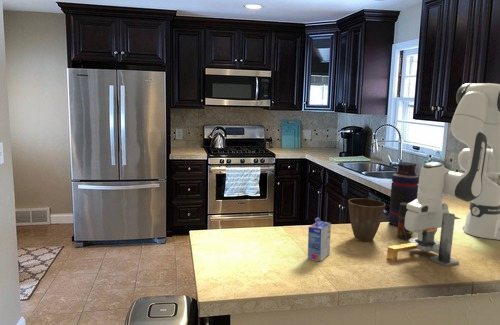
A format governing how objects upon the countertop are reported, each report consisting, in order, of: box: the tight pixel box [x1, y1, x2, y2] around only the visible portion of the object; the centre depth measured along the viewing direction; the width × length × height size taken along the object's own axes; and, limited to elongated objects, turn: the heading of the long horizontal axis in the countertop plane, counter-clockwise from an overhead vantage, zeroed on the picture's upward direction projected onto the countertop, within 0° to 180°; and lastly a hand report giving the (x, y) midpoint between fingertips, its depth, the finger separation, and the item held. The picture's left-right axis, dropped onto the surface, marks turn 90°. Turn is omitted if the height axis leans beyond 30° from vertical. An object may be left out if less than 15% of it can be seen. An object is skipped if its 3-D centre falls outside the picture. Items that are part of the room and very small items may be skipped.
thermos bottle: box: [388, 161, 421, 226], centre depth 196 cm, size 14×12×30 cm
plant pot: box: [348, 198, 386, 243], centre depth 174 cm, size 15×15×16 cm
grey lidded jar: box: [418, 228, 438, 253], centre depth 159 cm, size 5×5×9 cm
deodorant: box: [396, 202, 413, 241], centre depth 177 cm, size 6×6×15 cm
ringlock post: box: [386, 212, 460, 267], centre depth 153 cm, size 23×18×18 cm
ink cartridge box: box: [307, 216, 332, 262], centre depth 152 cm, size 10×6×14 cm, turn 149°
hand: (425, 239), depth 159 cm, fingers closed on grey lidded jar, 4 cm apart
